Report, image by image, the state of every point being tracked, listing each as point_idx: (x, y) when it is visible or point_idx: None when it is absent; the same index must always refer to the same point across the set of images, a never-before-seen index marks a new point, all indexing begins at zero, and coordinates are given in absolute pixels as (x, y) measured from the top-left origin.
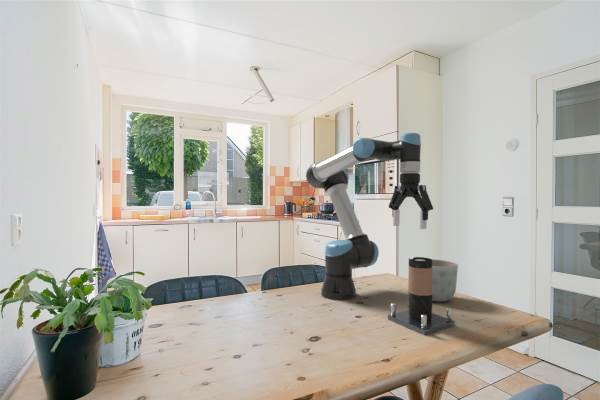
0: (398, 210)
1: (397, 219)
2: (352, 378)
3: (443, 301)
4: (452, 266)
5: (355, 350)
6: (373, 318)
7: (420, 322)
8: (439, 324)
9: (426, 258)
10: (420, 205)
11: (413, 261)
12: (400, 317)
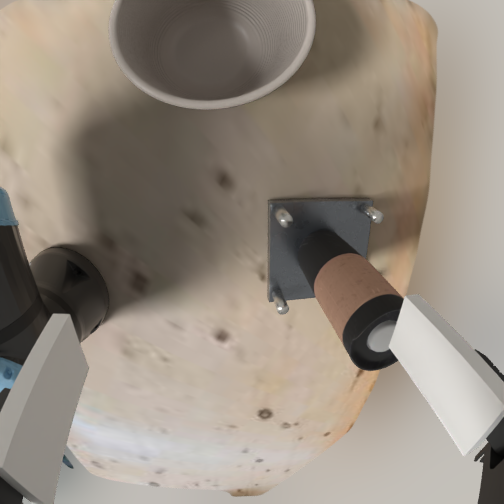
0: (15, 473)
1: (56, 386)
2: (356, 407)
3: (251, 62)
4: (314, 24)
5: (322, 390)
6: (246, 317)
7: None
8: (364, 246)
9: (394, 310)
10: (492, 499)
11: (379, 366)
12: (294, 288)
